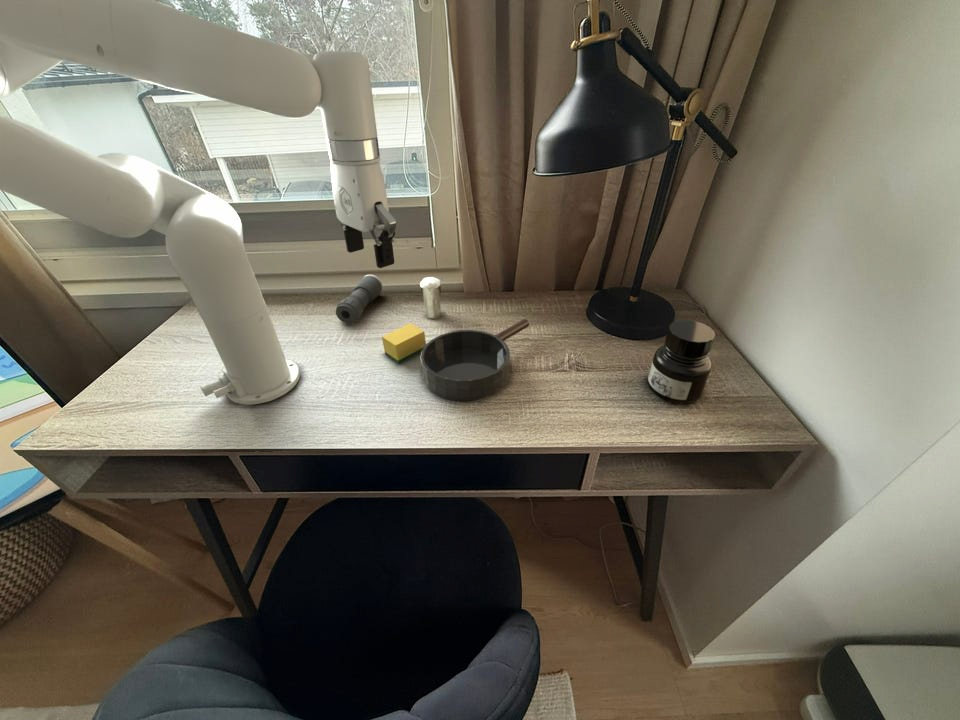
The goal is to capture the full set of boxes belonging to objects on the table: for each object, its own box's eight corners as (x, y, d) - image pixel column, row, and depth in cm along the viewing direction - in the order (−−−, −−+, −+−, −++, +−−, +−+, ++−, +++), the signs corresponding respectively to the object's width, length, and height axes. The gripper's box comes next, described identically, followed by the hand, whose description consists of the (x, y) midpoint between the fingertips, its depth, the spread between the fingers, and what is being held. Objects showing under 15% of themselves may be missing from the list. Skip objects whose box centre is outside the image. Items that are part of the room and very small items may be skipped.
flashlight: (358, 326, 94) (353, 305, 91) (336, 324, 95) (330, 303, 92) (384, 295, 106) (380, 275, 103) (364, 293, 107) (360, 273, 104)
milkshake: (443, 321, 95) (440, 280, 89) (421, 319, 96) (416, 279, 90) (449, 311, 99) (446, 271, 93) (427, 309, 100) (422, 270, 94)
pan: (464, 414, 70) (462, 394, 68) (405, 373, 80) (402, 354, 77) (527, 371, 79) (528, 352, 77) (467, 339, 89) (466, 321, 86)
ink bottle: (635, 379, 77) (648, 322, 70) (673, 367, 79) (690, 311, 72) (673, 412, 69) (693, 352, 62) (714, 398, 72) (738, 339, 65)
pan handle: (498, 346, 82) (498, 338, 81) (492, 342, 83) (492, 335, 82) (529, 328, 87) (529, 320, 86) (522, 325, 88) (522, 317, 87)
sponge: (398, 364, 82) (395, 345, 80) (385, 354, 85) (381, 336, 82) (426, 349, 86) (424, 331, 84) (412, 341, 89) (410, 323, 86)
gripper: (305, 146, 68) (327, 250, 77) (362, 162, 57) (379, 278, 67) (347, 142, 72) (363, 240, 82) (407, 155, 62) (417, 266, 71)
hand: (370, 257), depth 74 cm, fingers open, 9 cm apart
